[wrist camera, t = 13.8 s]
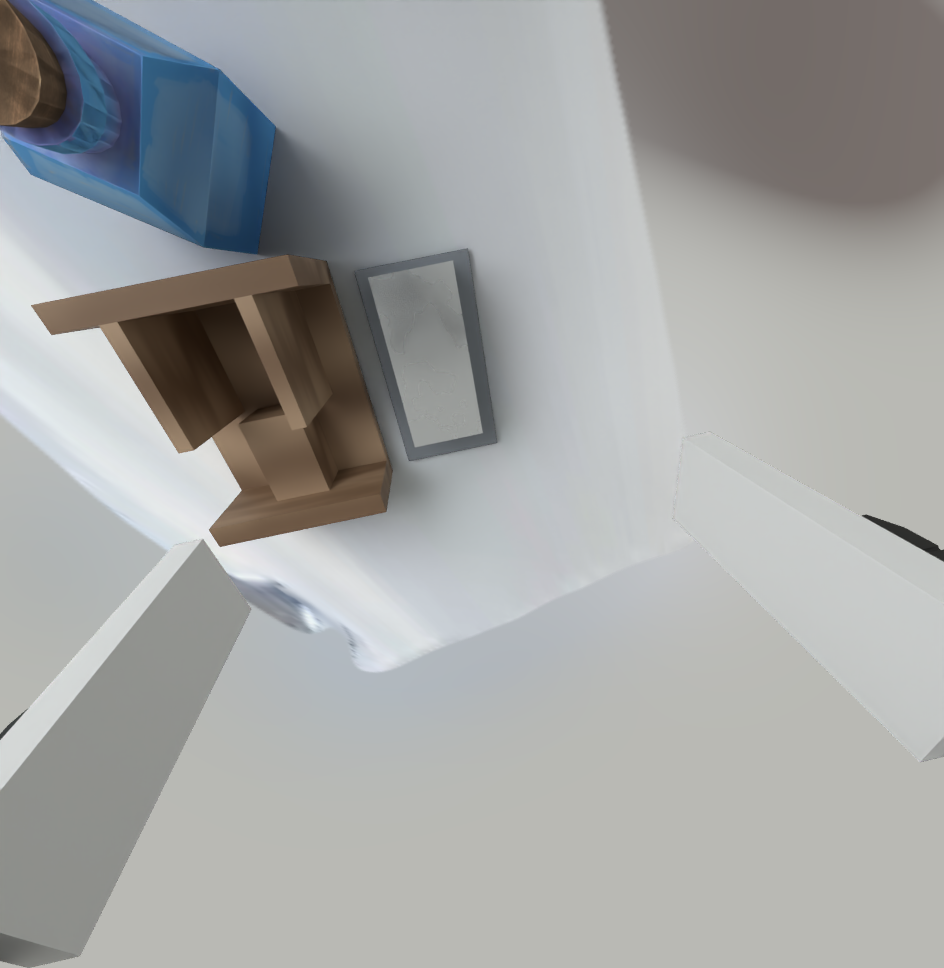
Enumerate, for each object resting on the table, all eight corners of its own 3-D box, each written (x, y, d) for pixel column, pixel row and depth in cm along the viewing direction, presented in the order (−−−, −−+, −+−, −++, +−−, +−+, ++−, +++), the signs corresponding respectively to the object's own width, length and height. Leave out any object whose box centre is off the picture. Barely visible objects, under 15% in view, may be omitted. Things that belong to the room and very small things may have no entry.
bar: (375, 277, 23) (367, 277, 20) (448, 262, 23) (452, 260, 20) (415, 428, 28) (414, 447, 25) (476, 416, 28) (482, 433, 25)
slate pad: (355, 271, 23) (354, 270, 23) (466, 248, 23) (467, 248, 23) (409, 459, 29) (408, 461, 29) (496, 440, 29) (497, 442, 29)
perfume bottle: (257, 254, 22) (109, 234, 12) (134, 201, 20) (-169, 122, 10) (275, 126, 20) (108, -45, 9) (137, 54, 18) (-266, -261, 7)
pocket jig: (145, 296, 22) (30, 305, 16) (326, 261, 23) (287, 254, 16) (255, 499, 30) (208, 562, 23) (392, 470, 30) (384, 525, 23)
